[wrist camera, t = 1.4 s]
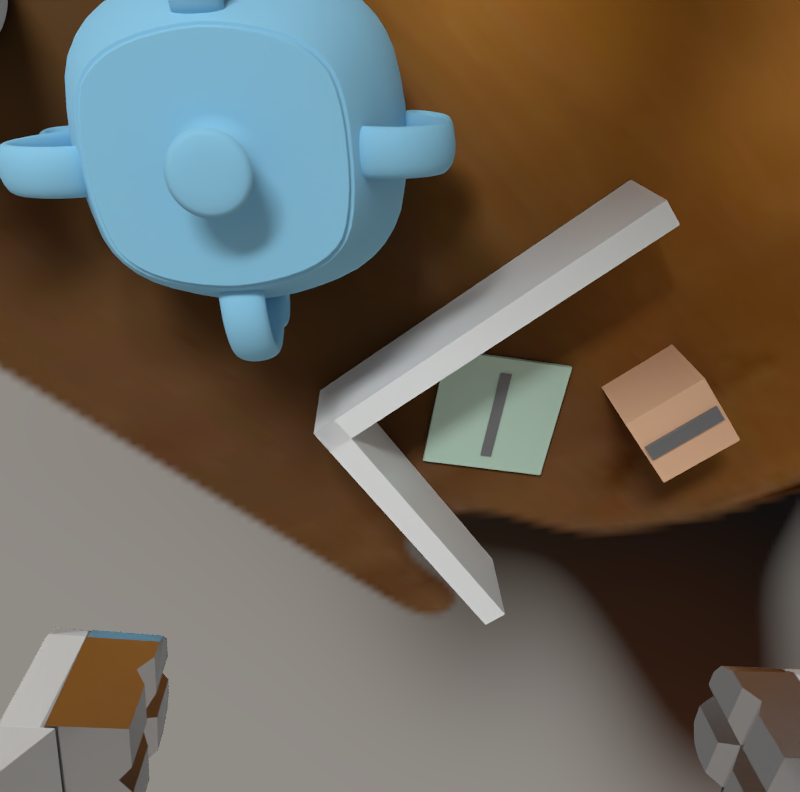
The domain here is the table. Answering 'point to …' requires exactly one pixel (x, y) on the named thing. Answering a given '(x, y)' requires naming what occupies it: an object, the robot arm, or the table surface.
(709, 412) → the cube
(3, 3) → the can
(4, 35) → the table surface
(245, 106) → the decorative pot
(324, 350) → the table surface
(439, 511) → the white l-shaped bracket
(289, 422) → the table surface
